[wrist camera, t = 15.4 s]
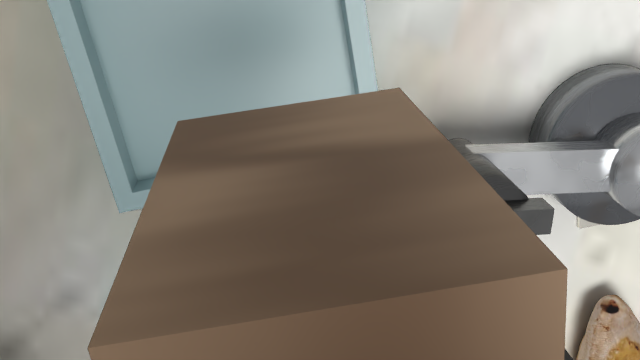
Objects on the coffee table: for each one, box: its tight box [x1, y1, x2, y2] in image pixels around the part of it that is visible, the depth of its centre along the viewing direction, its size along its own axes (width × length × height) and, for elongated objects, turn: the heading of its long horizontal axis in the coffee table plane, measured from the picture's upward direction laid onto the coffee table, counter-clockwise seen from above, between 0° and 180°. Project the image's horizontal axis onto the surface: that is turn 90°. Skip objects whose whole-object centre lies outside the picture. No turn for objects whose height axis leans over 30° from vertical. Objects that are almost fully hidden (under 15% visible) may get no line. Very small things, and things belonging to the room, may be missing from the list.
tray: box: [47, 0, 378, 213], centre depth 32 cm, size 15×15×2 cm
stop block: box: [88, 88, 567, 360], centre depth 11 cm, size 5×7×8 cm
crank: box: [449, 112, 640, 235], centre depth 31 cm, size 14×5×8 cm, turn 89°
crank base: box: [529, 64, 640, 228], centre depth 36 cm, size 10×9×3 cm
